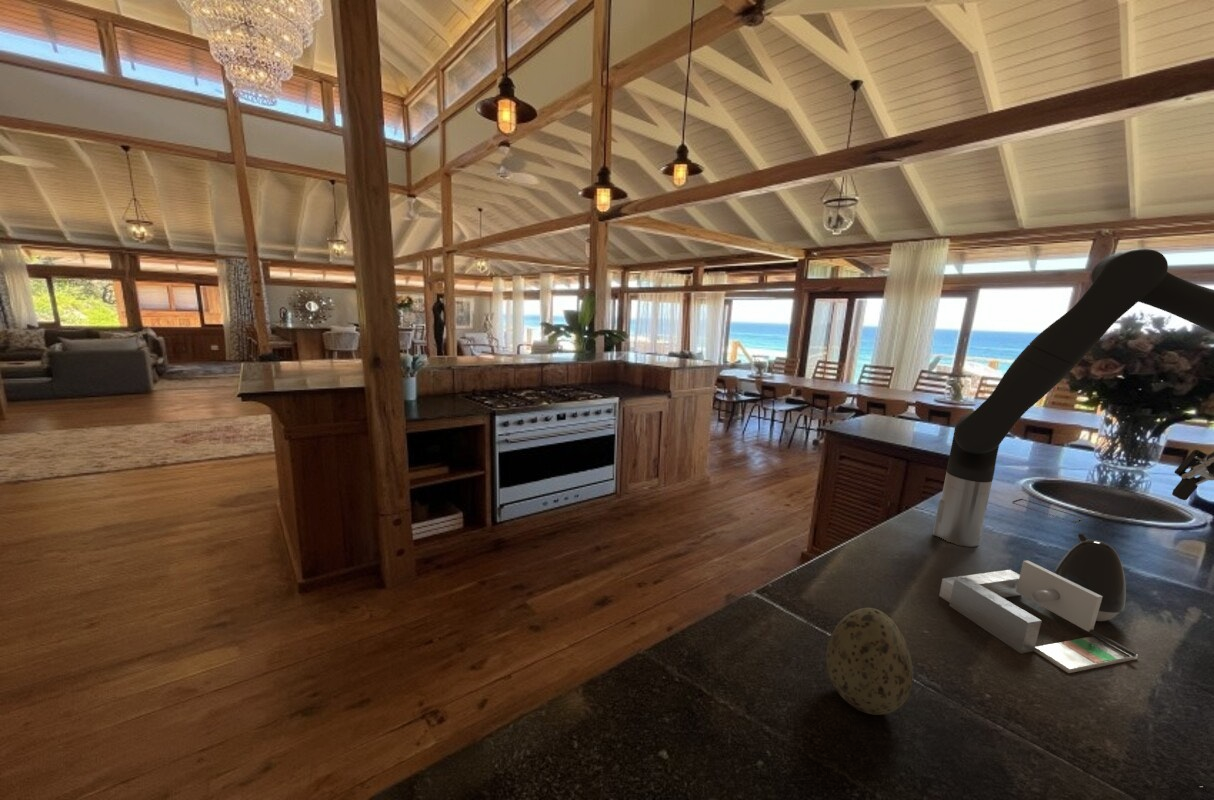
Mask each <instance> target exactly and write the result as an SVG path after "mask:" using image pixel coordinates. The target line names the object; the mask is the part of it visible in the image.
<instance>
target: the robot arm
mask: <svg viewBox="0 0 1214 800" xmlns="http://www.w3.org/2000/svg"><path fill="white" fill-rule="evenodd" d="M1168 264H1169V263H1168V260H1167V259H1166V257H1165V256H1164V255H1163V253H1161V252H1159V251H1158V250H1154V249H1151V248H1133V249H1127V250H1123V251H1119V252H1116V253H1113V254H1111V255H1108V256H1105V257H1104V258H1103V259H1101V260H1100V261H1099V262H1097V264H1096V265H1095V266H1094V267H1093V269H1092V271H1091V274H1090V279H1091V283H1092V284H1091V286H1090V287H1089V288H1088V289H1087V291H1086V292H1085V293H1084V294H1083V296H1082V297H1081V298H1080V299H1079V300H1078V301H1077V302H1076V303H1075V304H1074V305H1073V307H1072V308H1070V309H1069V310H1068V311H1067V312H1066V313H1064V314H1063V315H1062V316H1060V317H1059V318H1058V319H1056V320H1055V321H1053V322H1052V323H1051V324H1050V325H1049V326H1047V327H1046V328H1045V329H1043V331H1041V332H1040V333H1039V334H1037V335H1036V337H1035V338H1033V340H1031V342H1029V344H1028V345H1027V346H1026V347H1025V348H1024V349H1023V350H1022V352H1021V353H1019V355H1017V357H1016V358H1015V360H1014V361H1013V362H1012V363H1011V365H1010V366H1009V367H1008V369H1007V370H1006V371H1005V373H1004V374H1003V376H1002V377H1001V379H1000V381H999V382H998V384H997V385H996V386H995V388H994V389H993V391H992V393H991V394H990V395H989V396H987V397H988V398H986V400H984V401H983V402H982V403H981V404H980V405H979V406H978V407H977V408H975V410H974V411H973V412H970V413H966V414H965V415H962V416H961V417H960V418H959V419H958V420H957V422H956V423H955V427H954V431H953V434H952V435H953V437H952V443H951V448H950V452H949V457H948V462H947V467H946V472H945V473H946V474H945V479H944V483H943V488H942V493H941V497H940V500H939V501H938V504H937V511H936V513H935V514H936V516H935V520H934V526H933V531H932V536H936V537H937V538H939V537H940V539H941V538H942V539H941V540H943V539H944V540H943V541H945V540H946V541H945V542H948V543H950V542H951V544H953V543H954V544H953V545H957V546H961V547H971V548H974V547H977V546H979V545H980V541H981V535H982V530H983V526H984V522H985V516H986V512H987V507H988V503H989V499H990V494H991V489H992V484H993V481H994V475H995V469H996V463H997V456H998V452H999V447H1000V444H1001V443H1002V442H1003V441H1004V439H1005V438H1006V437H1007V435H1009V432H1010V431H1011V430H1012V429H1013V427H1014V426H1015V425H1016V423H1018V421H1019V420H1020V418H1022V416H1024V414H1025V413H1026V412H1027V411H1028V410H1030V409H1031V408H1032V407H1034V405H1035V404H1037V403H1038V402H1039V401H1040V400H1041V399H1042V398H1044V396H1045V395H1047V394H1049V392H1051V390H1052V389H1054V388H1055V387H1056V386H1057V385H1058V384H1059V383H1060V382H1061V381H1062V380H1063V379H1064V378H1065V377H1066V376H1067V375H1069V373H1070V372H1071V371H1072V370H1073V369H1074V368H1076V366H1077V365H1078V364H1079V363H1080V362H1081V361H1082V360H1083V359H1084V357H1085V356H1086V355H1087V354H1088V353H1089V352H1090V351H1091V350H1092V348H1094V347H1095V345H1096V344H1097V343H1098V342H1099V341H1100V339H1101V338H1102V337H1103V336H1104V335H1105V334H1106V332H1108V330H1109V329H1110V328H1111V327H1112V325H1113V324H1115V322H1117V321H1118V320H1119V319H1120V318H1121V317H1122V316H1124V314H1126V313H1127V312H1128V311H1129V310H1130V309H1131V308H1132V307H1134V306H1135V305H1136V304H1137V303H1142V304H1144V305H1148V306H1150V307H1153V308H1156V309H1159V310H1161V311H1164V312H1167V313H1169V314H1170V315H1174V316H1176V317H1178V318H1180V319H1182V320H1184V321H1188V322H1189V323H1192V324H1193V325H1196V326H1198V327H1201V328H1203V329H1205V330H1207V331H1209V332H1211V333H1213V334H1214V289H1212V288H1209V287H1206V286H1204V285H1199V284H1197V283H1193V282H1191V281H1188V280H1185V279H1184V278H1181V277H1178V276H1177V275H1174V274H1173V273H1170V272H1168V269H1169V265H1168ZM1189 468H1190V470H1189V471H1187V470H1188V469H1189ZM1206 470H1207V471H1206ZM1174 474H1176V475H1177V476H1178V477H1180V478H1181V479H1180V481H1179V483H1178V484H1176V486H1175V488H1173V489H1172V493H1171V495H1172V496H1173V497H1175V498H1177V499H1178V500H1181V501H1187V500H1188V499H1189V498H1190V496H1191V495H1193V493H1194V492H1195V490H1197V489H1198V488H1199V485H1200V484H1202V483H1205V482H1209V481H1214V451H1213V452H1211V453H1205V452H1203V451H1201V450H1199V449H1194V450H1193V451H1192V452H1191V453H1190V454H1189V455H1188V456H1186V458H1185V459H1184V460H1183V462H1181V464H1179V466H1178V467H1177V468H1176V469H1175V470H1174Z"/></svg>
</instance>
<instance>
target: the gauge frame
mask: <svg viewBox="0 0 1214 800" xmlns="http://www.w3.org/2000/svg"><path fill="white" fill-rule="evenodd" d="M1019 577H1020V573H1017V572H1015V571H1013V570H1012V569H1005V570H997V571H991V572H990V571H988V572H982V573H975V574H968V575H966V574H965V575H959V576H951V577H944V578H942V579H941V583H940V584H941V585H940V588H939V597H940V598H941V599H943V600H945V601H946V602H947V603H949V607H950V608H952V609H953V610H955V611H956V612H958V613H959V614H961V615H962V616H964V617H965V618H966V619H968V620H970V621H971V622H973V623H974V624H976V625H977V626H979V627H980V628H982V629H983V630H985V631H986V632H988V633H990V634H991V635H993V636H994V637H995V638H997V639H998V640H1000V641H1001V642H1003V644H1006V645H1007V646H1009V647H1010V648H1011V649H1013V650H1015V651H1017V652H1018V653H1019V654H1025V653H1031V652H1035V653H1036V654H1038V655H1039V656H1041V657H1043V658H1044V659H1045V660H1047V661H1049V662H1050V663H1052V664H1054V666H1056V667H1058V668H1059V669H1061V670H1063V671H1064V672H1066V673H1068V674H1071V673H1076V672H1081V671H1087V670H1091V669H1094V668H1095V669H1096V668H1100V667H1101V668H1102V667H1105V666H1109V665H1115V664H1120V663H1125V662H1128V661H1134V660H1138V656H1139V654H1138V653H1137V654H1136V657H1133V656H1131V655H1129V654H1127V653H1125V652H1124V651H1122V650H1120V649H1118V648H1116V647H1115V646H1113V645H1111V644H1109V643H1107V642H1106V641H1104V640H1102V639H1100V638H1098V637H1097V636H1095V635H1092V636H1087V637H1081V638H1076V639H1071V640H1065V641H1061V642H1055V643H1048V644H1043V645H1038V646H1037V645H1036V644H1037V640H1038V637H1039V632H1040V629H1041V626H1042V622H1043V621H1042V620H1041V619H1040V618H1038V617H1036V616H1035V615H1033V614H1032V613H1029V612H1028V611H1026V610H1025V609H1022V608H1021V607H1019V606H1018V605H1016V604H1015V603H1012V602H1011V601H1009V600H1007V599H1006V598H1010V597H1011V598H1012V597H1017V596H1022V595H1021V594H1019V593H1017V592H1016V589H1017V585H1018V581H1019Z"/></svg>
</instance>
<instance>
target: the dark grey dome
mask: <svg viewBox="0 0 1214 800" xmlns="http://www.w3.org/2000/svg"><path fill="white" fill-rule="evenodd" d="M1077 537H1078V539H1079V541H1080V542H1079V543H1077V544H1076V545H1074V546H1073V547H1072V548H1070V549H1069V551H1067V553H1065V555H1064V556H1063V557H1062V559H1061V560H1060V561H1059V563H1058V564H1057V565H1056V568H1055V569H1054V571H1053V573H1055V574H1057V575H1059V576H1061V577H1063V578H1065V579H1068V580H1070V581H1072V582H1074V583H1076V584H1078V585H1080V586H1082V587H1084V588H1086V589H1088V590H1090V591H1092V592H1094V593H1097V594H1099V595H1101V596H1103V597H1102V601H1101V604H1100V608H1099V611H1098V615H1097V618H1096V622H1105V621H1109V620H1112V619H1115V617H1117V616H1118V614H1120V613H1121V612H1123V611H1124V609H1125V605H1126V598H1127V597H1126V596H1127V595H1126V594H1127V592H1126V591H1127V588H1126V587H1127V586H1126V585H1127V584H1126V578H1125V572H1124V566H1123V564H1122V560H1121V559H1120V556H1119V555H1118V552H1117V551H1116V549H1114V548H1113V547H1112V546H1111V545H1110V544H1109V543H1106V542H1105V541H1101V540H1098V539H1097V540H1096V539H1088V538H1087V536H1086V535H1085V534H1084V533H1078V535H1077Z"/></svg>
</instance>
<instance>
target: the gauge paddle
mask: <svg viewBox="0 0 1214 800" xmlns="http://www.w3.org/2000/svg"><path fill="white" fill-rule="evenodd" d="M1019 575H1020V577H1019V581H1018V585H1017V589H1016V592H1017V593H1019V594H1021V595H1020V596H1022V597H1024V598H1026V599H1028V600H1029V601H1032V602H1033V603H1035V604H1037V605H1039V606H1041V607H1043V608H1045V609H1046V610H1048V611H1050V612H1052V613H1053V614H1055V615H1056V616H1059V617H1061V618H1062V619H1064V620H1065V621H1068V622H1070V623H1071V624H1074V625H1075V626H1076V627H1079V628H1081V629H1082V630H1084V631H1086V632H1088V633H1089V634H1091V635H1092V636H1097V637H1098V638H1100V639H1102V640H1104V641H1106V642H1107V643H1109V644H1111V645H1113V646H1115V647H1116V648H1118V649H1120V650H1122V651H1124V652H1125V653H1127V654H1129V655H1131V656H1133V657H1136V654H1137V655H1138V653H1137V652H1135V651H1132V650H1131V649H1129V648H1128V647H1125V646H1124V645H1122V644H1120V643H1118V642H1116V641H1115V640H1112V639H1111V638H1109V637H1107V636H1105V635H1103V634H1101V633H1100V632H1098V631H1096V630H1094V629H1095V625H1096V622H1097V621H1096V618H1097V615H1098V611H1099V608H1100V604H1101V601H1102V597H1103V596H1101V595H1099V594H1097V593H1094V592H1092V591H1090V590H1088V589H1086V588H1084V587H1082V586H1080V585H1078V584H1076V583H1074V582H1072V581H1070V580H1068V579H1065V578H1063V577H1061V576H1059V575H1057V574H1055V573H1054V571H1051V570H1048V569H1046V568H1045V567H1042V566H1041V565H1039V564H1036V563H1034V562H1032V561H1030V560H1028V559H1026V560H1023V561H1022V565H1021V569H1020V573H1019Z"/></svg>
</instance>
